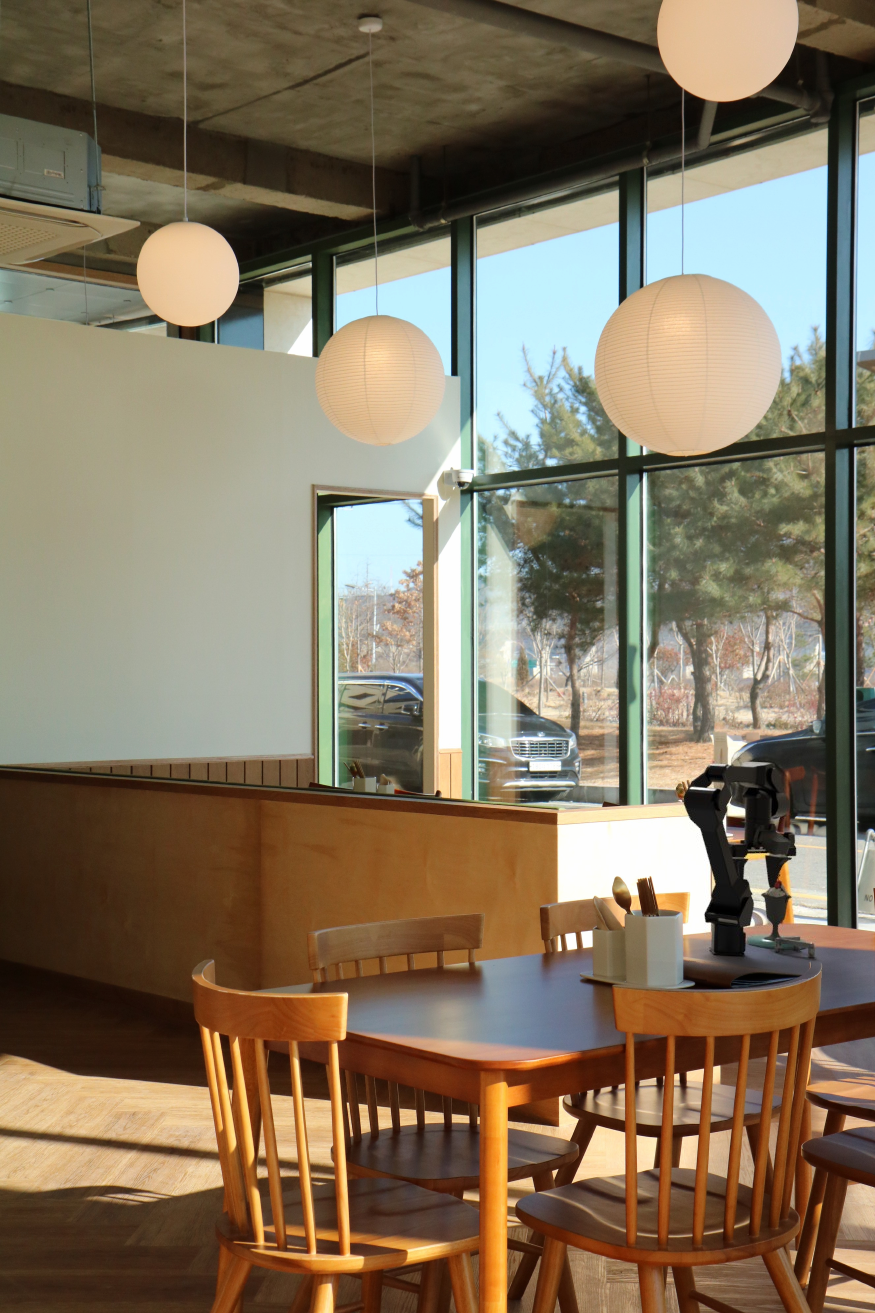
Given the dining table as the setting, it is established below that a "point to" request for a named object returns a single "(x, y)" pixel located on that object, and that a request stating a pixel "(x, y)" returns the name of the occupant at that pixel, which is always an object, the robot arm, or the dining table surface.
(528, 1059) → the dining table surface
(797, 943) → the jointed flat metal bars
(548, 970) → the dining table surface
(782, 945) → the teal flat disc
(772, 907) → the sundae
